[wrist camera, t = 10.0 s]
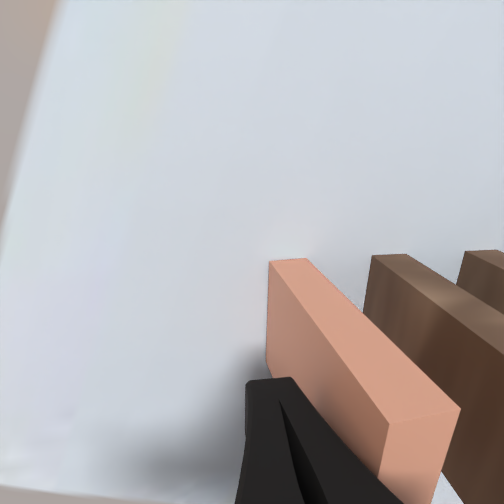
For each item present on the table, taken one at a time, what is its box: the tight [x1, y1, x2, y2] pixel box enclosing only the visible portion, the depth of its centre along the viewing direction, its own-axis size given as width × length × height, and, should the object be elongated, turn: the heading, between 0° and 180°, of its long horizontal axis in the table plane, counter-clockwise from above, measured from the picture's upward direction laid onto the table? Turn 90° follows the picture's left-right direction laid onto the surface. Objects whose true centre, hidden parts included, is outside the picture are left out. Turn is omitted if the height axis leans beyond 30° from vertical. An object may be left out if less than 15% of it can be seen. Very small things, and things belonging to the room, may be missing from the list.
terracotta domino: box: [266, 258, 461, 504], centre depth 11 cm, size 2×5×8 cm, turn 179°
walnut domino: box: [363, 254, 504, 504], centre depth 12 cm, size 2×5×8 cm, turn 179°
